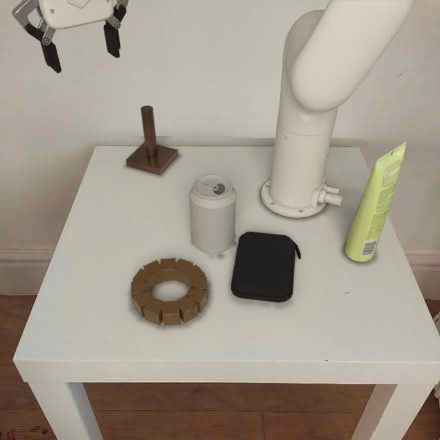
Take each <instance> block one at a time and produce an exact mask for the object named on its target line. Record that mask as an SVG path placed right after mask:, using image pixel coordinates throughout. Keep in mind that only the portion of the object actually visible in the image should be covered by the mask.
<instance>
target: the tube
mask: <svg viewBox="0 0 440 440" xmlns="http://www.w3.org/2000/svg"><path fill="white" fill-rule="evenodd" d="M407 143H408V142H407V141H405V142H403V143H402V144H400V145H398V146H397V147H395V148H394V149H392V150H390V151H389V152H387V153H386V154H383V155H382V156H381V157H379V158H377V159H376V162H375V163H374V165H373V167H372V169H371V172H370V174H369V177H368V179H367V182H366V184H365V187H364V189H363V192H362V195H361V198H360V201H359V204H358V206H357V210H356V212H355V215H354V218H353V222H352V224H351V227H350V231H349V233H348V237H347V240H346V244H345V247H344V254H345V255H346V256H347V257H348V258H349V259H350V260H352V261H355V262H359V263H365V262H369V261H370V260H372V259H373V258H374V255H375V253H376V250H377V246H378V245H379V241H380V238H381V235H382V231H383V229H384V226H385V222H386V220H387V216H388V213H389V209H390V207H391V204H392V201H393V196H394V193H395V189H396V187H397V182H398V180H399V175H400V172H401V168H402V164H403V161H404V157H405V154H406V153H405V152H406V149H407V148H406V147H407Z"/></svg>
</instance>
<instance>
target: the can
mask: <svg viewBox="0 0 440 440" xmlns="http://www.w3.org/2000/svg"><path fill="white" fill-rule="evenodd" d="M188 193H189V194H188V200H189V216H190V217H189V220H190V238H191V239H190V240H191V243H192V245H193V246H194V247H195V249H197V250H198V251H200V252H201V253H205V254H209V255H218V254H222V253H224V252H226V251H228V250H229V249H231V248H232V247H233V245H234V243H235V236H236V235H235V234H236V215H237V214H236V213H237V211H236V210H237V191H236V188H235V187H234V184H233V182H232V181H231V179H229V178H228V177H225V176H224V175H219V174H205V175H202V176H200V177H198V178H196V179H195V181H194V182H193V184H192V187H191V189H190V190H189V192H188Z"/></svg>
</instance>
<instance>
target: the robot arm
mask: <svg viewBox="0 0 440 440" xmlns="http://www.w3.org/2000/svg"><path fill="white" fill-rule="evenodd" d="M129 1H130V0H116V4H114V0H21V2H19V3H18V4H17V5H16V6H15V7H14V8H13V9H12V11H11V16H12V17H13V18H14V19H15V20H16V21H17V23H18V24H19V25H20V26H21V28H22V29H23V30H24V31H25V32H26V33H27V34H28V35H30V36H31V37H33V38H34V39H36V40H37V41H38V42H39V43H40V47H41V51H42V54H43V58H44V62H45V64H46V66H47V67H50V68H51V69H52V70H53V71H54V72H55V73H56V74H60V73H62V71H63V70H62V66H61V61H60V57H59V53H58V49H57V46H56V44H55V43H54V42H53V38H54V35H55V33H56V31H60V30H61V31H62V30H68V29H73V28H76V27H82V26H86V25H91V24H95V23H101V22H105V24H103V35H104V40H105V46H106V51H107V53H108V54H109V55H111V56H112V57H114V58H115V59H119V58H121V52H120V50H121V47H122V46H121V39H120V33H119V30H120V28H121V27H122V21H123V19H124V18H125V16H126V14H127V7H128V6H129ZM415 2H416V0H329V1H328V3H327V5H326V7H325V9H314V10H310V11H307V12H306V13H304V14H302V15H301V16H299V17H298V18H297V19H296V20H295V21H294V22H293V24H292V25H291V26H290V28H289V30H288V32H287V35H286V37H285V40H284V44H283V50H282V63H281V77H280V78H281V79H280V91H279V93H280V94H279V103H278V111H277V112H278V113H277V121H276V129H275V130H276V131H275V139H274V147H273V156H272V166H271V173H270V174H271V175H270V178H269V179H268V180H266V181H265V183H263V185H262V186H261V191H260V198H261V201H262V203H263V204H264V206H265V207H266V208H267V209H269V210H270V211H272V212H273V213H275V214H276V215H280V216H283V217H287V218H295V219H296V218H297V219H298V218H299V219H300V218H308V217H311V216H314V215H316V214H318V213H320V212H321V211H322V210H324V208H325V207H326V205H327V204H330V205H333V206H336V207H342V204H343V201H344V197H345V196H344V195H341V194H340V191H341V188H339V187H335V186H329V184H327V183H326V182H327V178H328V176H326V175H325V172H326V171H325V170H326V165H327V162H328V157H329V152H330V147H331V142H332V138H333V133H334V128H335V125H336V120H337V115H338V112H339V111H338V110H339V107H340V106H342V105H343V104H345V103H346V102H347V101H348V100H349V99H350V98H351V97H352V96H353V95H354V94H355V93H356V91H357V90H358V89H359V87H360V86H361V85H362V83H363V82H364V80H365V79H366V78H367V76H368V75H369V73H370V72H372V70H373V69H374V67H375V65H376V64H377V63H378V61H379V60H380V59H381V57H382V56H383V54H384V53H385V52H386V50H387V49H388V47H389V46H390V44H391V43H392V42H393V40H394V39H395V38H396V36H397V35H398V34H399V32H400V30H401V29H402V28H403V26H404V24H405V23H406V21H407V19H408V18H409V15H410V13H411V11H412V9H413V6H414V4H415ZM34 10H36V13H37V16H38V18H39V19H40V21H39V24H38V25H37V27H36V26H35V25H33V23H32V22H31V21H30V20H29V15H30V14H31V13H32V12H33V11H34Z"/></svg>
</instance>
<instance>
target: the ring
mask: <svg viewBox="0 0 440 440" xmlns="http://www.w3.org/2000/svg"><path fill="white" fill-rule="evenodd" d="M132 277H133V278H132V281H130V297H131V301H132V305H133V308H134V310H135V311H136V312H137V313H138V315H139V316H140V317H141V319H144V320H145V321H147V322H150V323H153V324H155V325H157V326H161V324H162V323H163V326H164V327H166V326H178V325H179V326H180V325H181V321H182V322H183V324H186V323H187V322H190V321H191V320H193V319H195V318H196V317H198V316H199V314H202V312H203V310H204V309H205V307H206V305H207V303H208V300H209V285H208V284H209V283H208V277H207V276H206V273H205V271H203V270H202V268H200V266H198V265H197V264H194V262H192V261H189V260H186V259H183V258H178V260H177V258H176V257H169V258H168V257H167V258H159V261H158V260H157V259H155V260H153V261H151V262H149V263H147V264H145V265H143V266H142V268H139V270H138V271H137V272H136V274H135V275H134V276H132ZM172 281H176V282H179V283H182V284H184V285H185V286H186V287H187V288H188V289H189V290H188V291H187V293H186V294H185V295H183V296H181V297H180V298H178V299H176V300H162V299H159V298H156V297H154V296H153V294H152V291H153V290H154V288H155V287H156V286H158V285H160V284H162V283H164V282H172Z"/></svg>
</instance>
